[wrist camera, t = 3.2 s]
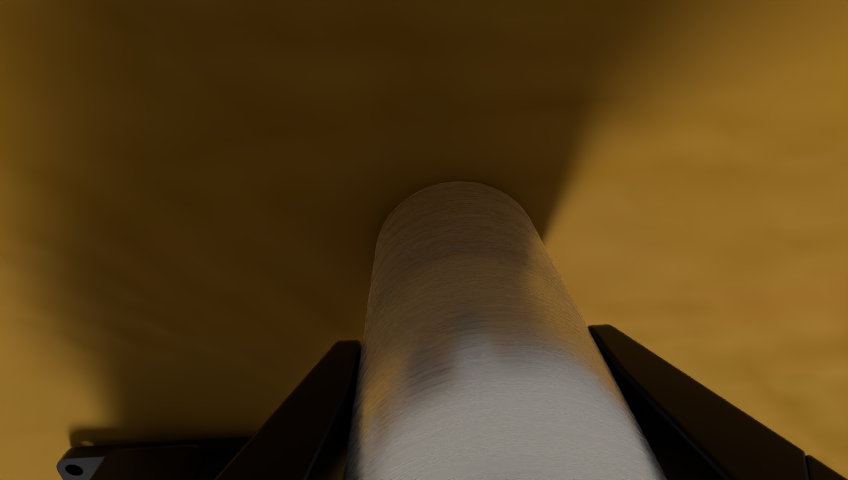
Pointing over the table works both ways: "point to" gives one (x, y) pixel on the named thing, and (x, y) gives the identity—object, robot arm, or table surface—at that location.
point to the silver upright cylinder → (481, 356)
